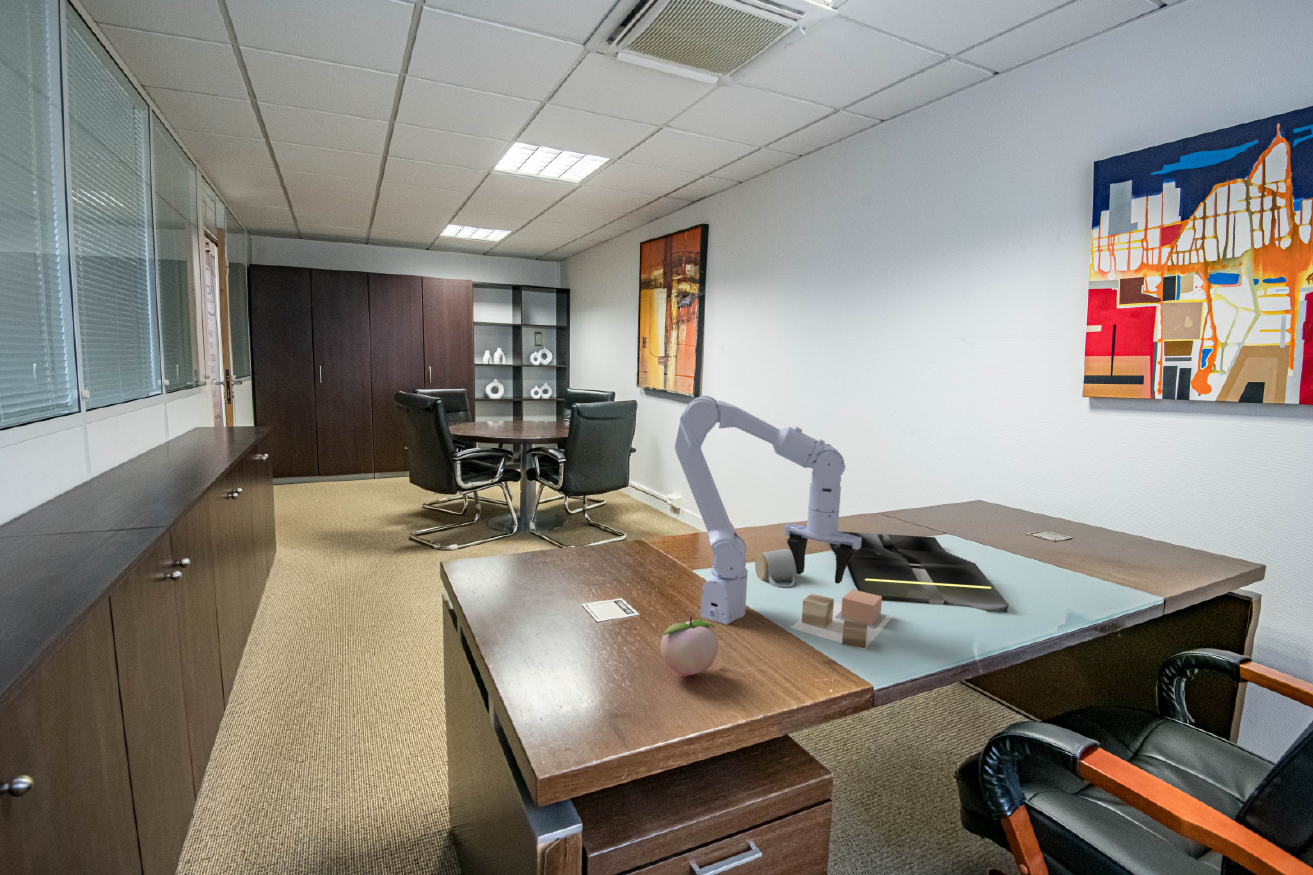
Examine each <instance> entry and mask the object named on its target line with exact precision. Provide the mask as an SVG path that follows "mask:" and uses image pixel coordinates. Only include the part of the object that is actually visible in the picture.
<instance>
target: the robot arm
mask: <svg viewBox="0 0 1313 875" xmlns="http://www.w3.org/2000/svg"><path fill="white" fill-rule="evenodd" d="M718 423H719V425H718V429H728V428H736V429H738V430H741V431H742V432H745V433H747V434H749V435H750V436H754V437H756V438H758V439H759V440H763V441H765V442H767V443H769V444H771V445H772V447H773V450H774V454H776V455H779V456H781V458H784V459H787V460H789V461H790V462H792V463H795V464H796V465H799V466H801V467H803V468H804V469H808V468H809V469H812V471H811V479H810V480H811V481H810V485H809V494H808V508H807V524H806V525H802V524H793V523H787V524H785V525H784V532H783V534H784V536H788V537H789V538H786V540H787V541H786V543H787V545H788V547H789V550H791V552H792V554H793V557H794V561H795V566H796V572H797V574H796V575H801V574H803V573H805V568H806V567H805V562H806V550H807V545H808V540H814V541H818V542H824V543H827V544H830V543H832V544H837V545H840V547H838V548H836V549H835V552H836V555H835V573H834V574H835V575H834V584H838V585H839V584H840V583H842V582H843V578H844V575H845V571H846V568H847V564H848V562H849V560H850V558H851V556H852V555H853V553H854V551H855V550H856V549H857V550H858V549H859V548H860V547H861V539H862V538H861V537H857V536H853V535H850V534H846V533H843V532H844V531H840V530H839V519H840V507H841V506H840V505H841V490H842V487H841V482H842V475H843V474H844V472H845V469H846V464H845V460H844V457H843V456H842V454H841V453H840V452H839V451H838V450H837V449H836V448H835V447H834V446H833V445H831V444H830V443H829V444H828V443H826V442H825V440H823V439H821V438H820V439H819V440H817V439H816V438H813V437H811V436H810V435H808V434H806V433H803V432H802V431H803V429H802V428H800V427H798V426H795V427H791V426H787V427H784V428H783V427H782V428H777V427H776V426H774V425H772V424H770V423H769V422H766V421H765V420H763V419H761V418H759V417H757V416H756V415H754V414H752V413H749V412H748V411H746V410H743V409H742V408H740V407H738V406H736V405H735V404H731V403H729V402H726V401H723V400H720V399H719V400H718V401H717V400H716V399H715V398H714V397H712V396H709V395H701V396H698V397H696V398H695V399H694V400H692V401H690V402H689V403H688V404H687V406H686V407H685V409H684V411H683V412H682V414H681V415H680V418H679V424H678V429H677V435H676V438H675V444H674V450H675V453H676V456H677V458H678V460H679V464H680V465H681V468H682V471H683V473H684V476H685V478H686V480H687V483H688V485H689V489H690V491H691V494H692V496H693V499H694V500H695V503H696V506H697V508H698V512H699V513H700V516H701V518H702V521H703V523H704V525H705V526H704V527H705V529H706V530H707V534H708V538H709V544H710V548H711V550H712V556H713V557H712V566H711V567H710V576H709V578H708V579H707V581H706V582H705V583H704V584H703V586H702V587H701V594H700V596H701V597H700V615H699V616H700V618H703V619H705V620H706V619H707V620H708V621H709V620H710V621H713V622H715V623H718V624H719V623H720V624H723V625H726V626H728V625H729V624H731V623H732V622H733V621H735V620H737V619H741V618H743V617H745V616H746V609H747V607H746V605H747V589H748V586H747V585H748V571H749V570H748V569H747V568H746V565H747V559H746V554H747V545H746V542H745V540H744V539H743V538H742V537H741V536H740V535H739V534H738V533H737V532H736V529H735V527H734V525H733V524H732V522H731V520H730V518H729V516H728V512H727V511H726V508H725V506H724V504H723V501H722V498H721V495H720V493H719V491H718V488H717V486H716V483H715V481H714V478H713V475H712V473H711V471H710V468H709V466H708V463H707V460H706V458H705V455H704V453H703V451H702V445H703V444H704V441H705V439H706V437H707V435H708V434H709V432H711V430H712V429H713V428H714V427H715V426H716V424H718Z"/></svg>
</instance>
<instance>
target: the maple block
mask: <svg viewBox="0 0 1313 875" xmlns="http://www.w3.org/2000/svg"><path fill="white" fill-rule="evenodd" d="M834 602H835V599H834V598H831V597H828V596H823V595H820V594H816V593H811V594H809V595H808V596H806V597H805V598H804V599H803V600H802V609H801V610H802V612H801V618H802V623H806V624H809V625H813V626H816V627H820V628H823V629H825V628H826V627H827V626H828V625H829V624H830V623H831V622H832V620H833V607H834Z"/></svg>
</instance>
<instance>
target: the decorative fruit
mask: <svg viewBox="0 0 1313 875" xmlns="http://www.w3.org/2000/svg"><path fill="white" fill-rule="evenodd" d="M710 627H712V628H716V626H715V625H714V624H713V623H712V622H710V621H709V620H706V619H694V620H693V616H690V617H689V621H685V622H675V623H673V624H671V625H670V626H668V627H667V628H666V629H665V631H664V633H663V634H662V637H661V639H660V640H661V641H660V652H661V655H662V659H663V660H664V662H665V663H666V665H667V666H668V668H670V669H671V670H672V671H673V672H675V673H676V674H679V675H682V676H686V677H690V676H692V675H696V674H698V673H701V672H704V671H705V670H707V669H709V668H710V667H711V666H712V665H713V663H714V662H715V659H716V658H717V654H718V651H719V650H718V648H719V643H718V642H719V641H718V638H717V636H716V635H715V633H714V631H713V630H712V628H710Z"/></svg>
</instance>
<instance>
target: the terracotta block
mask: <svg viewBox="0 0 1313 875" xmlns="http://www.w3.org/2000/svg"><path fill="white" fill-rule="evenodd" d="M882 603H883V600H882V596H878V595H874V594H870V593H866V592H861V591H858V590H857V589H851V590H850V591H848V593H846V594H845V595H844V596H843V597H842V599H841V604H842V611H841V617H842V618H845V619H849V620H853V621H856V622H861V623H867V625H871V626H872V625H873V624H874V622H875V621H876V620H877V619H878V618H879V617H880V616H881V614H882Z"/></svg>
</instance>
